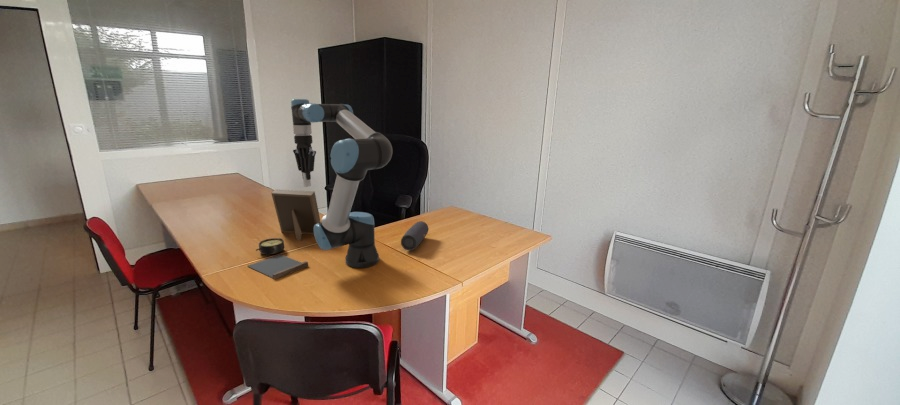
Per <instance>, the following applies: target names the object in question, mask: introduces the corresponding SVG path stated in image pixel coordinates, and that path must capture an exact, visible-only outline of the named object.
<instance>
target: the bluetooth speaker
mask: <svg viewBox="0 0 900 405" xmlns="http://www.w3.org/2000/svg"><path fill="white" fill-rule="evenodd" d="M429 230H430V229H429V225H428V224H427V223H426V222H425V221H423V220H422V221H420V220H419V221H416V222H415V223H414V224H413V225H412V226H411V227H410V228H408V230H406V232H405V233H404V235H403V236H402V237H401V240H400V245H401V247H402V249H404V250H405V251H414V250H415V249H416V248H418V247H419V245H420V244H421V243H422V242H423V240H424V239H426V238H425V237H427V235H428V232H429Z"/></svg>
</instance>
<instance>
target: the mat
mask: <svg viewBox="0 0 900 405" xmlns="http://www.w3.org/2000/svg"><path fill="white" fill-rule="evenodd" d="M300 263H302V262H300V261H298V260H296V259H293V258H291V257H289V256H286V255H283V254H277V255H274V256H271V257H269V258H266V259H263V260H260V261H257V262H255V263H252V264H249V265H247V267H248V268H249V269H252V270H254V271H256V272H258V273H260V274H262V275H265V276H267V277H269V278H271V279H273V275H272V274H274V273H276V272H279V271H281V270H284V269H287V268H289V267H292V266H294V265H297V264H300Z"/></svg>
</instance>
